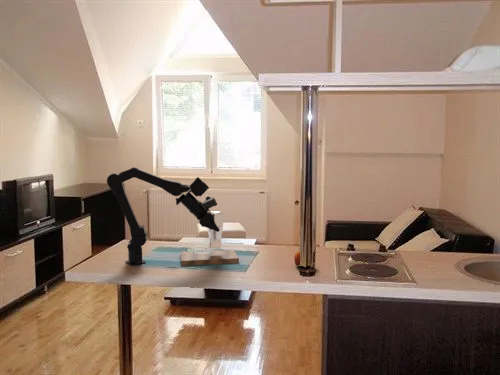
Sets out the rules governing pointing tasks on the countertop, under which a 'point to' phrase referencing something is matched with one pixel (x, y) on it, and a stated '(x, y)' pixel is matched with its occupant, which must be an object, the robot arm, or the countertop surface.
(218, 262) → the walnut board
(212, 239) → the beer glass
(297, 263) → the fruit
